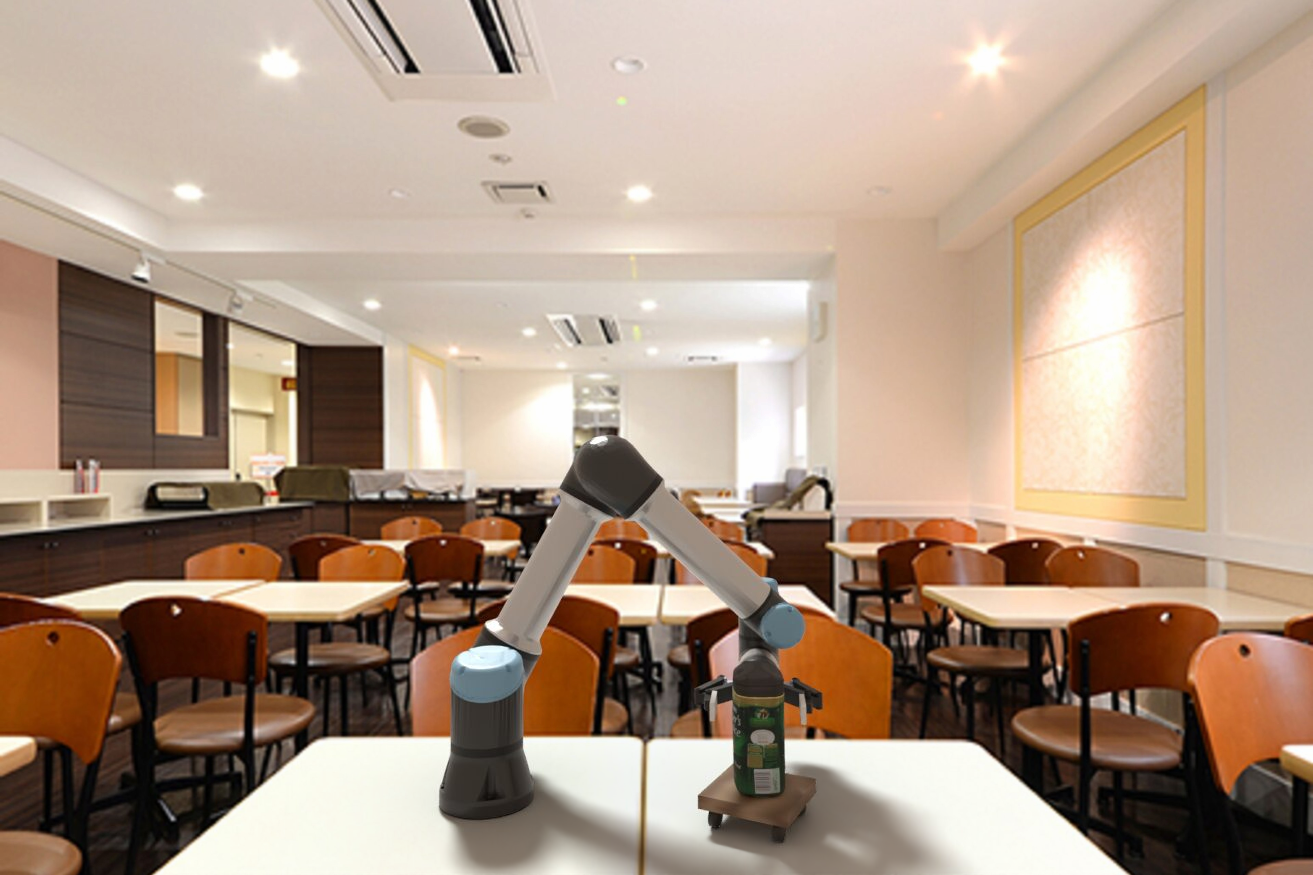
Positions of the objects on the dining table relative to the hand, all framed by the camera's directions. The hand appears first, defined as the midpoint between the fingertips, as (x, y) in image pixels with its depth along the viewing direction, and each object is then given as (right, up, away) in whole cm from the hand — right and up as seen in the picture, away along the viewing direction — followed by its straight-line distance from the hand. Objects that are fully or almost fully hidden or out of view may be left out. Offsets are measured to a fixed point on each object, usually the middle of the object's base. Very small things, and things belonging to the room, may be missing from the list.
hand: (757, 713), depth 119 cm
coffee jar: (+1, -12, +3) cm, 13 cm away
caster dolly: (+1, -17, +3) cm, 17 cm away
